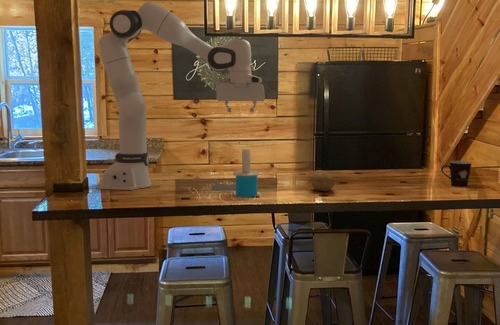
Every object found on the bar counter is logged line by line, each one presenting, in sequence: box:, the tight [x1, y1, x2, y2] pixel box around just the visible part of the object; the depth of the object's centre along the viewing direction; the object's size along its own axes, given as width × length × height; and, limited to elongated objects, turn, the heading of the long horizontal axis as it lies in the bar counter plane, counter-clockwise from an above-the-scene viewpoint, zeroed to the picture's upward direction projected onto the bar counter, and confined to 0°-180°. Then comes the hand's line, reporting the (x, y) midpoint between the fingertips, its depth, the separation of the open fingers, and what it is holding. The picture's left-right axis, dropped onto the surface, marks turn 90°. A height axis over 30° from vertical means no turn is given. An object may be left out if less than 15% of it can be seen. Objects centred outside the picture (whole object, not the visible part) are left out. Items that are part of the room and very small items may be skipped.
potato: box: [310, 169, 335, 192], centre depth 214 cm, size 10×14×8 cm
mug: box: [235, 176, 258, 198], centre depth 206 cm, size 12×8×8 cm
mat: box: [211, 184, 236, 192], centre depth 219 cm, size 14×12×1 cm
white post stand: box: [232, 148, 260, 177], centre depth 205 cm, size 10×10×10 cm
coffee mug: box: [440, 160, 472, 188], centre depth 226 cm, size 12×9×10 cm
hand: (240, 112), depth 221 cm, fingers open, 8 cm apart
